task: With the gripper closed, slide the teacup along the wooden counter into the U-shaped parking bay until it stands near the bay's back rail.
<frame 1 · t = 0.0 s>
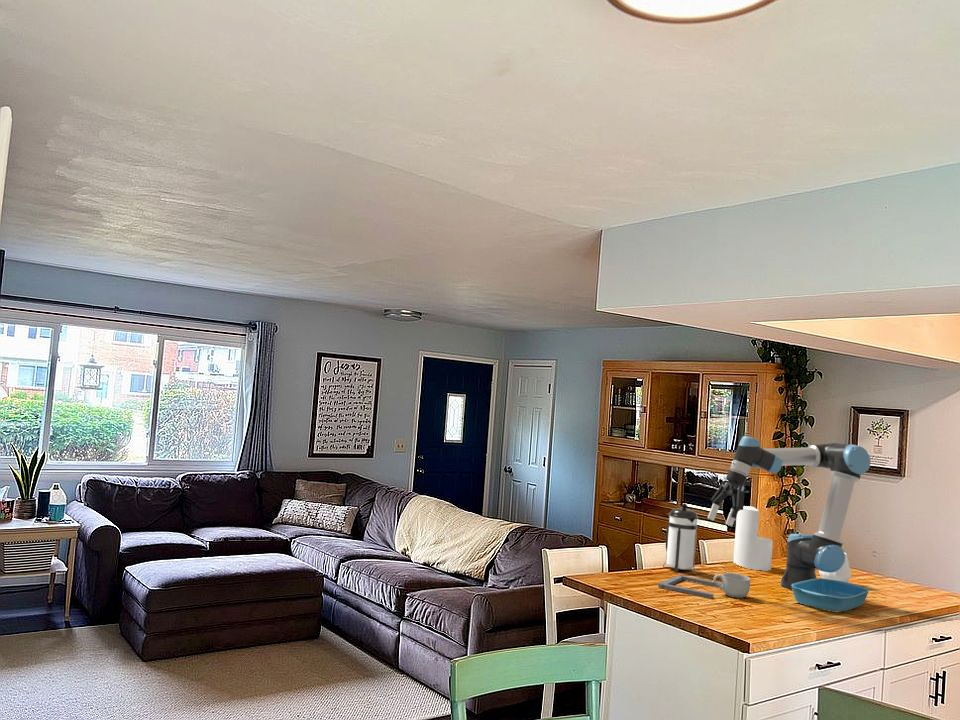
hand: (719, 522, 314), 28 cm above the table, tool tilted 20°, fingers open, 13 cm apart
cup: (834, 583, 356), on the table
teacup: (730, 596, 309), on the table
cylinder: (751, 567, 377), on the table
casserole dish: (829, 605, 310), on the table
parking bay: (695, 588, 317), on the table
coffee press: (677, 569, 353), on the table
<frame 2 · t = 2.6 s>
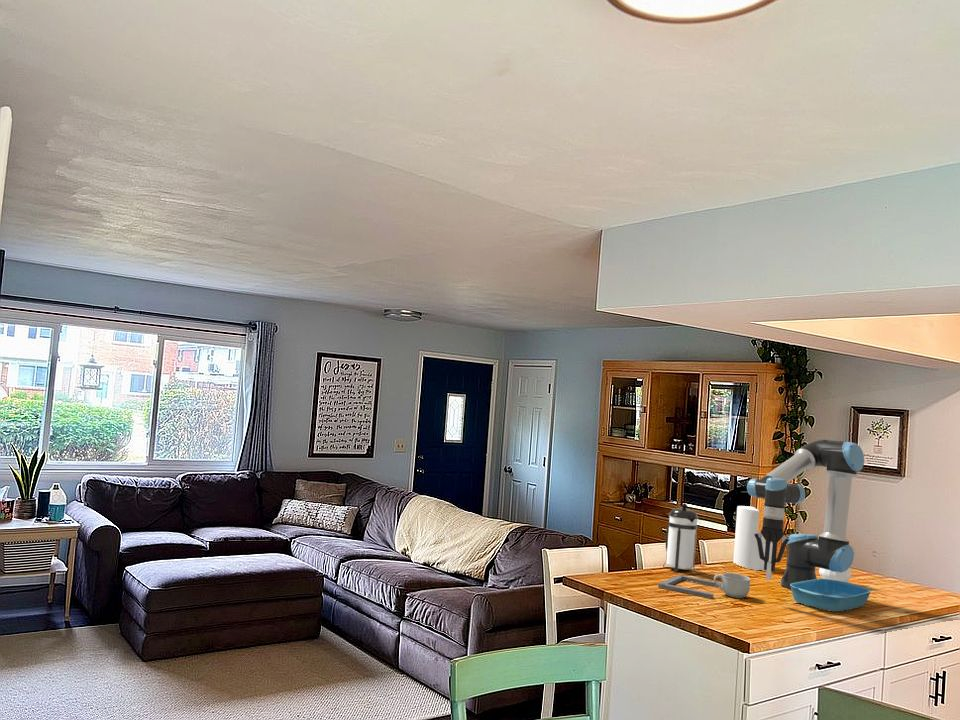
hand: (768, 579, 302), 9 cm above the table, tool pointing down, fingers closed
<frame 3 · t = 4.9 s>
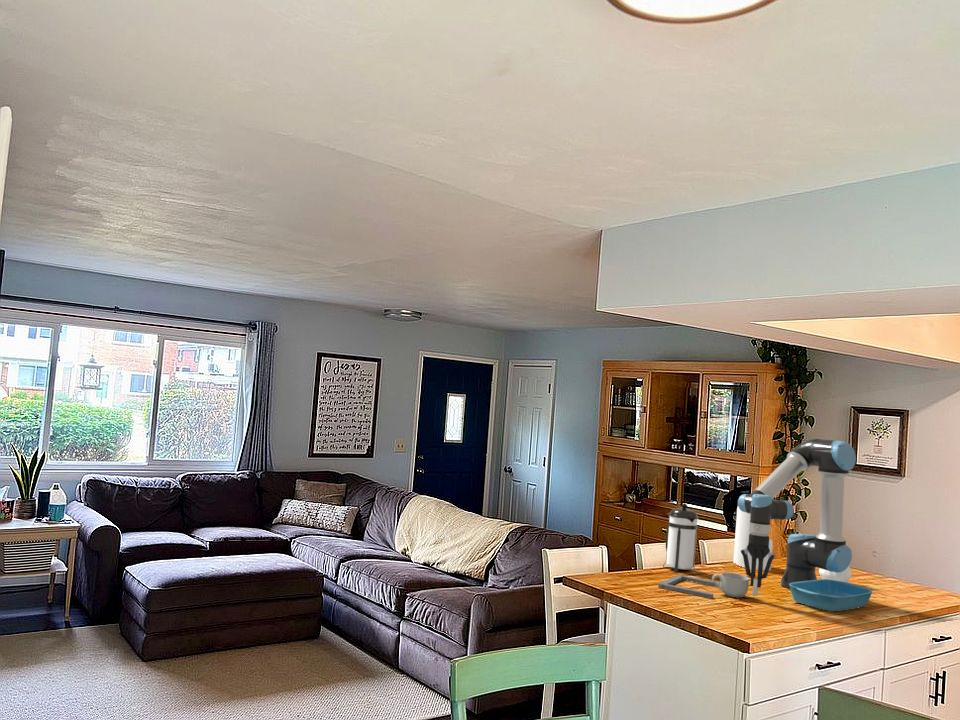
hand: (755, 595, 304), 2 cm above the table, tool pointing down, fingers closed
teacup: (729, 595, 310), on the table, touching gripper
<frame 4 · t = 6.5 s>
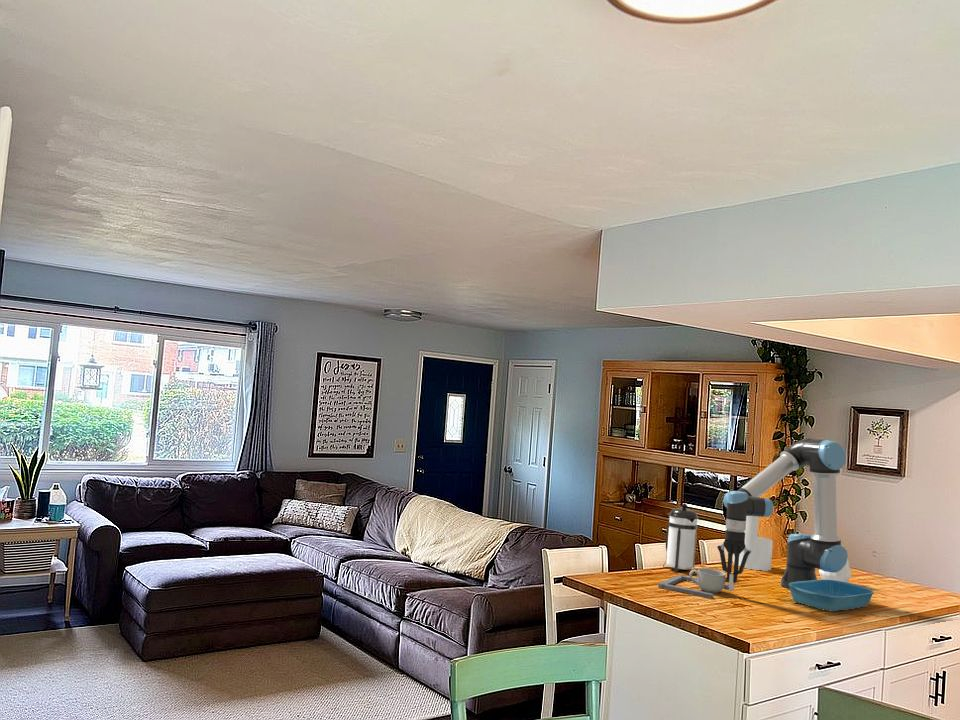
hand: (731, 590, 309), 2 cm above the table, tool pointing down, fingers closed
teacup: (706, 591, 314), on the table, touching gripper
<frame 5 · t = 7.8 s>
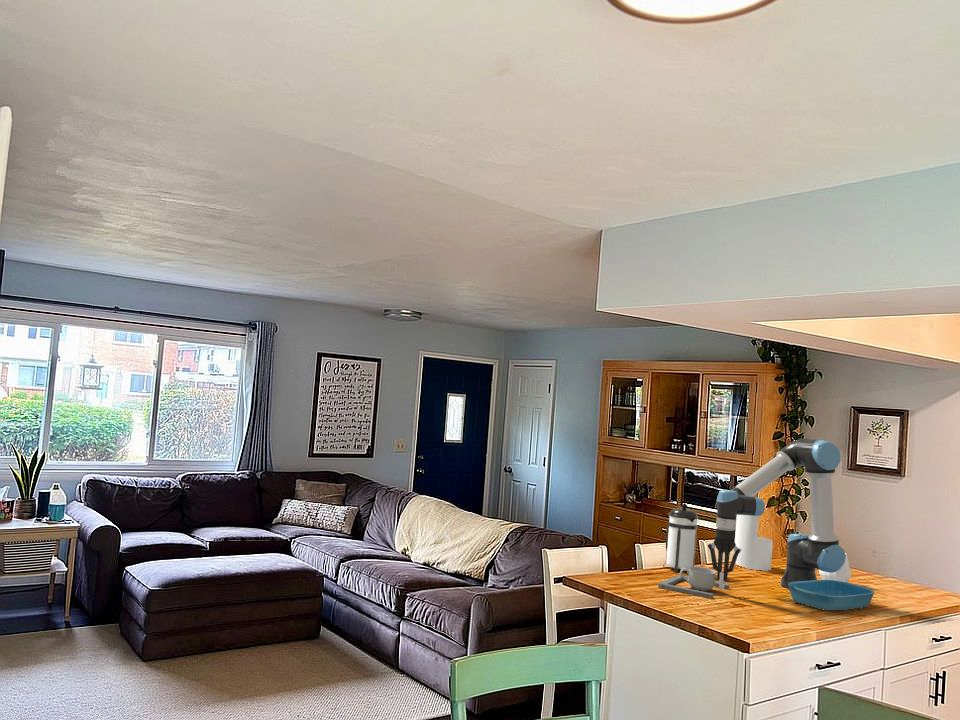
hand: (721, 588, 311), 2 cm above the table, tool pointing down, fingers closed
teacup: (696, 589, 316), on the table, touching gripper
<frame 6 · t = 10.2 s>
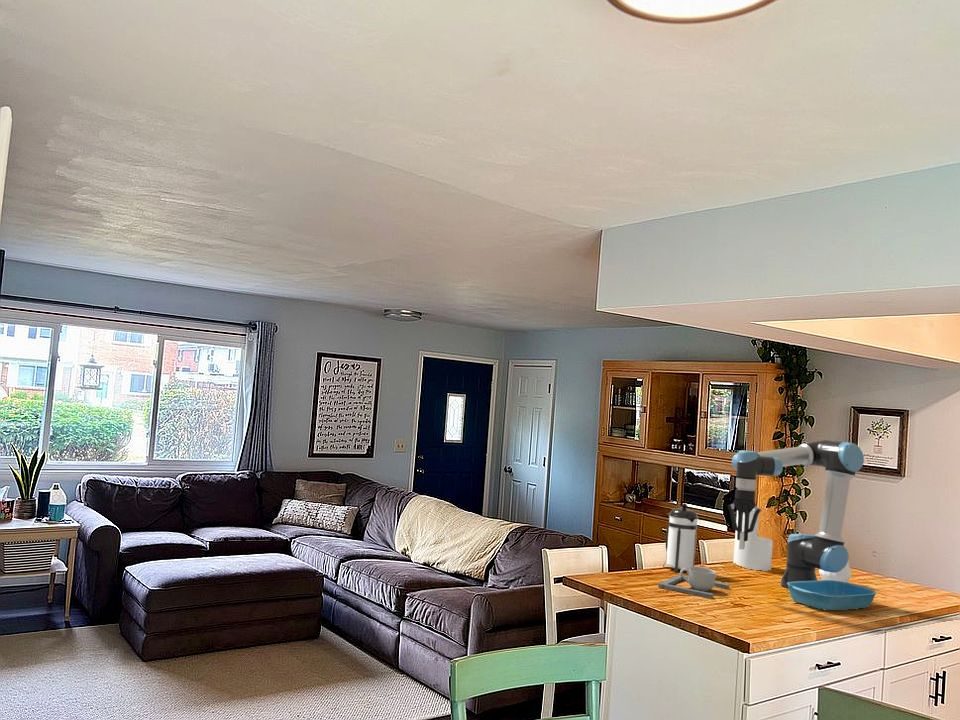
hand: (741, 548, 311), 19 cm above the table, tool pointing down, fingers closed
teacup: (696, 589, 316), on the table
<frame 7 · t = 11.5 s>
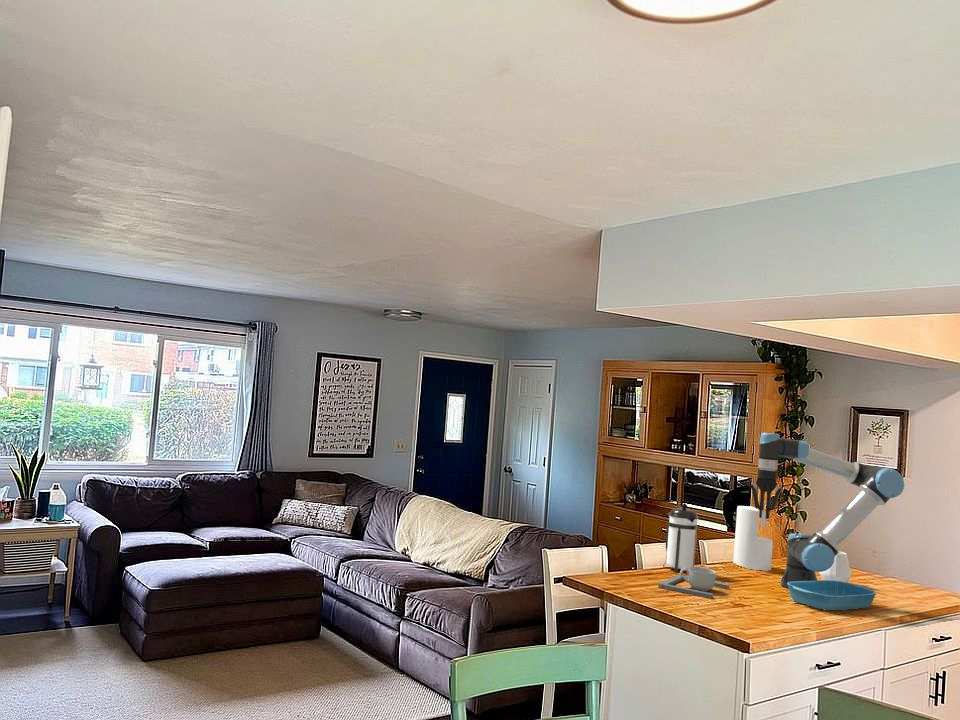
hand: (763, 526, 326), 26 cm above the table, tool pointing down, fingers closed
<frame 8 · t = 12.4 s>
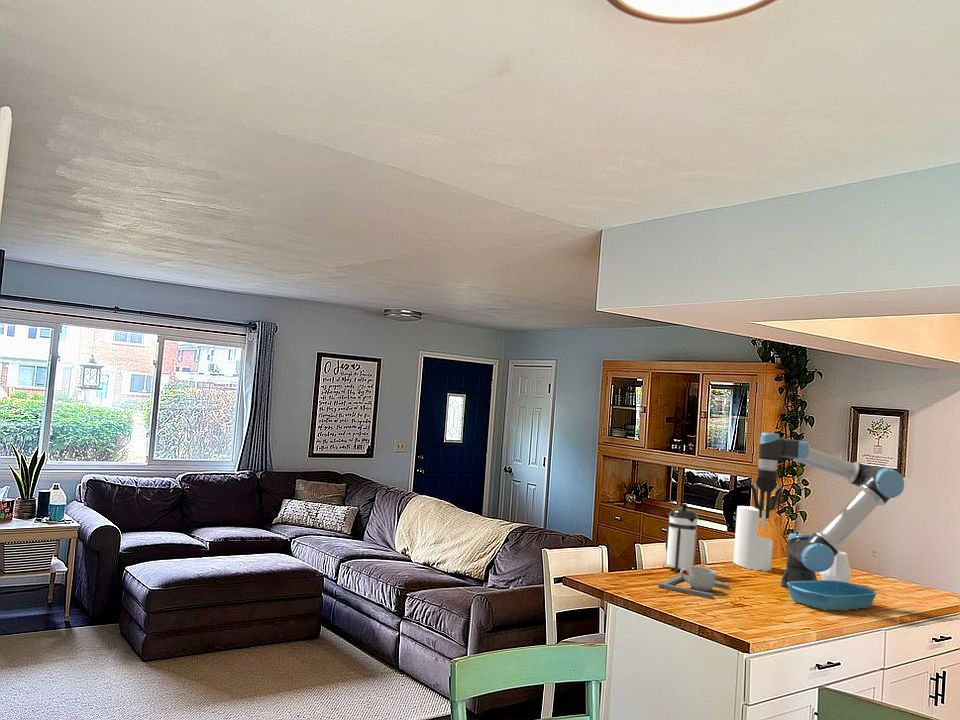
hand: (763, 526, 326), 26 cm above the table, tool pointing down, fingers closed
at the end: teacup inside the target area on the parking bay (0.5 cm from its centre), point 0.0 cm above the parking bay's base; teacup tilted 0°; teacup moved 13.5 cm from its start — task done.
